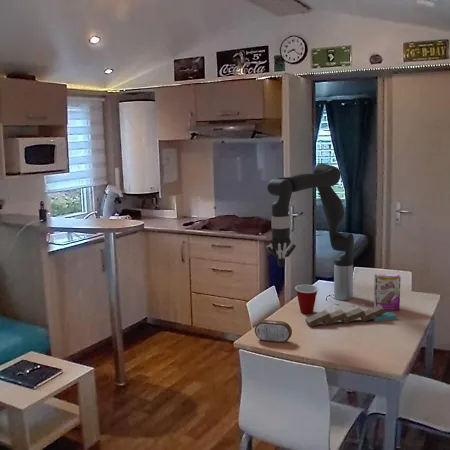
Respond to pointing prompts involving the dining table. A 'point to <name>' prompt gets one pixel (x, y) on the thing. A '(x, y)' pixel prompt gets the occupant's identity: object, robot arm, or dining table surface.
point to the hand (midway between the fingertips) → (281, 266)
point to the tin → (273, 331)
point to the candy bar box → (387, 291)
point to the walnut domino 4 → (373, 313)
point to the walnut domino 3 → (353, 315)
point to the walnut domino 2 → (335, 317)
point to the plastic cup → (306, 297)
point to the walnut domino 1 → (318, 318)
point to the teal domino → (385, 317)
